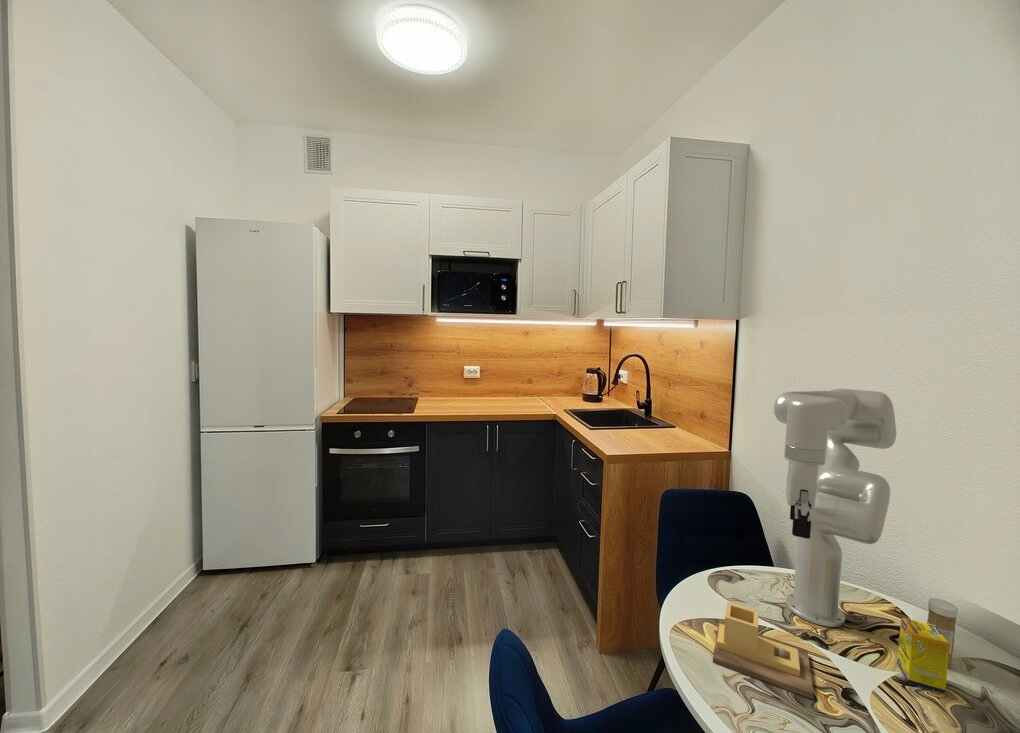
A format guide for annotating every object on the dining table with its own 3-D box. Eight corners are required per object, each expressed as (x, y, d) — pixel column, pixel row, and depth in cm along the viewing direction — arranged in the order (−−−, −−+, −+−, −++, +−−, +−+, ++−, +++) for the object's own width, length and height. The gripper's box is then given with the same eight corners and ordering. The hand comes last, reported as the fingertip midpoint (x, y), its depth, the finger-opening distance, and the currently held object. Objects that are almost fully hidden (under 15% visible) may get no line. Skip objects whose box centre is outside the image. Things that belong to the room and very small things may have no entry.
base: (718, 625, 105) (719, 605, 104) (806, 654, 95) (808, 632, 95) (712, 661, 93) (713, 639, 92) (813, 699, 83) (814, 674, 83)
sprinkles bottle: (954, 663, 94) (960, 605, 93) (949, 671, 91) (955, 612, 90) (926, 650, 98) (931, 594, 97) (920, 658, 95) (926, 601, 94)
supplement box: (896, 663, 93) (900, 616, 93) (932, 673, 91) (936, 625, 90) (907, 683, 88) (912, 633, 87) (946, 694, 85) (951, 643, 85)
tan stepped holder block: (716, 647, 95) (718, 615, 95) (719, 629, 101) (721, 599, 101) (799, 676, 87) (802, 642, 87) (797, 655, 93) (799, 623, 93)
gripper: (783, 443, 104) (778, 511, 105) (786, 460, 89) (780, 539, 90) (820, 448, 100) (815, 518, 101) (830, 466, 85) (824, 548, 86)
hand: (799, 528), depth 96 cm, fingers open, 9 cm apart
